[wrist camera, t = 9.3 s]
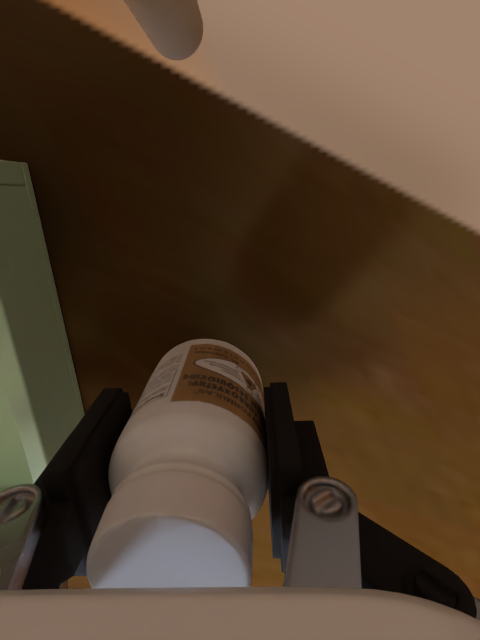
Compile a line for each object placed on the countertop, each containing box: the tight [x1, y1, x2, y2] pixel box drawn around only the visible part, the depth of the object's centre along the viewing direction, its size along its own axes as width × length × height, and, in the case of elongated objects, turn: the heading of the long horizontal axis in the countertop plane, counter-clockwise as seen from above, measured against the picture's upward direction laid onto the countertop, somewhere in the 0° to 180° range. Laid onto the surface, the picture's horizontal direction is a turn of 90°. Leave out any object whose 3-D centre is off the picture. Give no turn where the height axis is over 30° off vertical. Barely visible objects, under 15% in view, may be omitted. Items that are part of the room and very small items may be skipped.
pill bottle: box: [86, 339, 268, 589], centre depth 11 cm, size 4×4×8 cm
